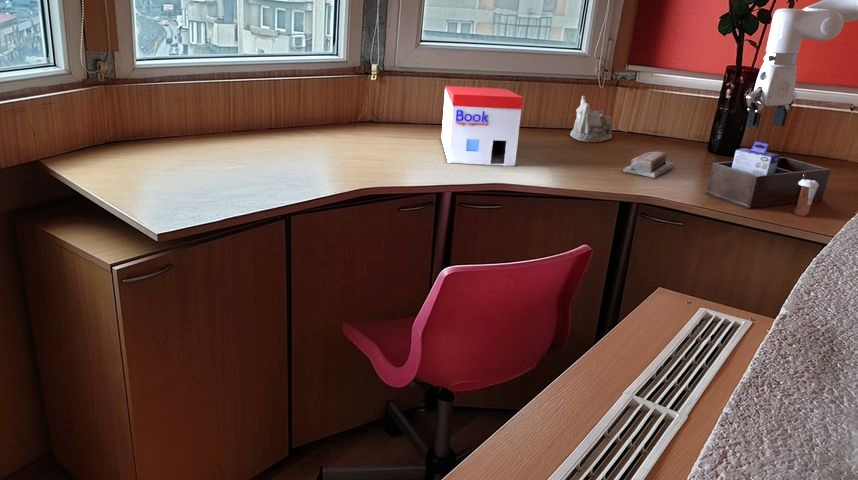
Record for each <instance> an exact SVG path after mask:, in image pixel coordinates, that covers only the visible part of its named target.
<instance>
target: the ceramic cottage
mask: <svg viewBox="0 0 858 480" xmlns="http://www.w3.org/2000/svg"><path fill="white" fill-rule="evenodd" d="M586 100H587V99H586V96H585V95H581V99H580V105H579V106H578V107H577V108H576V110H575V112H576V118H575V120H574V124H573V129H572V130H571V131H570V133H569V136H570V137H572V138H573V139H575V140H577V141H581V142H585V143H597V142H604V141H607V140H612V139H613V134H611V132H612V130H613V118H612V115H605V114H604V110H603V109H600V110H593V109H592V108H591V106H590V104H589V103H587V102H586Z"/></svg>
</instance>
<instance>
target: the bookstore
mask: <svg viewBox="0 0 858 480" xmlns="http://www.w3.org/2000/svg"><path fill="white" fill-rule="evenodd" d="M523 103H524V97H523V96H522V95H519V94H517V93H516V92H513V91H512V90H509V89H507V88H499V87H478V86H458V85H457V86H456V85H454V86H452V85H445V87H444V100H443V114H442V126H441V127H442V128H441V141H442V145H443V149H444V152H445V156H446V159H447V163H448V164H466V165H485V166H486V165H487V166H505V167H507V166H509V167H515V166H516V160H517V151H518V142H519V134H520V125H521V116H522V110H523V105H524V104H523Z"/></svg>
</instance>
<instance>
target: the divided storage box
mask: <svg viewBox="0 0 858 480" xmlns="http://www.w3.org/2000/svg"><path fill="white" fill-rule="evenodd" d="M732 164H733V161H731V160H730V161H721V162H719V161H717V162H712V164H711V165H712V166H711V170H710V174H709V179H708V184H707V189H706V194H707V195H709V196H712V197H715V198H718V199H720V200H723V201H726V202H728V203H731V204H734V205H737V206H740V207H742V208H746V209H748V210H751V209H760V208H769V207H778V206H784V205H793V204H794V205H795V201H796V195H797V189H798V183H799V181H801V180H803V174H805V180H812V181H813V180H815V181H816V182H817V183H818V185H819V186H818V188H817V191H816V193H815V196H814V198H813V201H812V202H818V201H823V199H824V196H825V192H826V188H827V184H828V181H829V178H830V174H831V171H832V169H831V168H828V167H823V166H821V165H820V166H819V165H816V164H812V163H810V162H805V161H801V160H797V159H794V158H790V157H787V156H779V159H778V163H777V167H776V171H775V174H769V175H759V176H756V175H753V174H750V173H746V172H743V171H740V170H737V169H734V168H732Z"/></svg>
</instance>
